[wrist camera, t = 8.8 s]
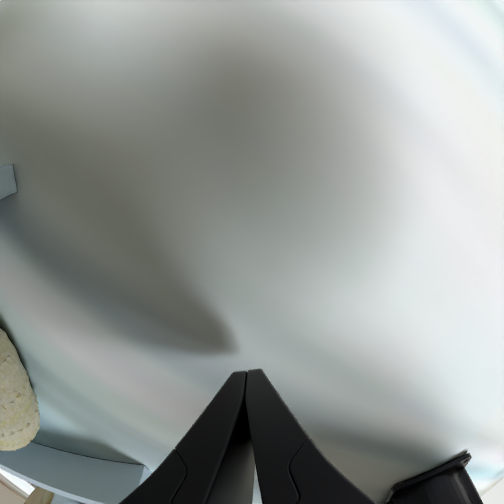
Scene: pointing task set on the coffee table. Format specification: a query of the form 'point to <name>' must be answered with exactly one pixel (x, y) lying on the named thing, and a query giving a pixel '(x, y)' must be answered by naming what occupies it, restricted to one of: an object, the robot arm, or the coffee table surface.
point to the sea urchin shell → (15, 400)
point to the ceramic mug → (48, 498)
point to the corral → (63, 463)
